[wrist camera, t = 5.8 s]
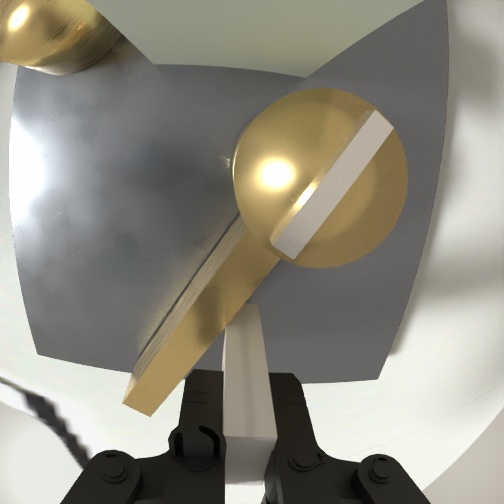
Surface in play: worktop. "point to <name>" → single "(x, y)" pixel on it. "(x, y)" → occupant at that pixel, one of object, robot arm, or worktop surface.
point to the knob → (283, 219)
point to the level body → (248, 30)
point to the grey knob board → (196, 189)
